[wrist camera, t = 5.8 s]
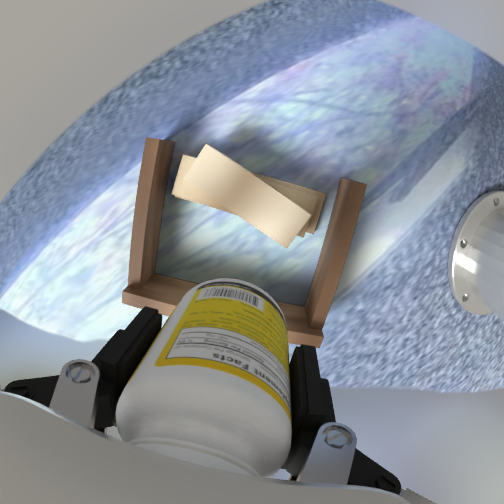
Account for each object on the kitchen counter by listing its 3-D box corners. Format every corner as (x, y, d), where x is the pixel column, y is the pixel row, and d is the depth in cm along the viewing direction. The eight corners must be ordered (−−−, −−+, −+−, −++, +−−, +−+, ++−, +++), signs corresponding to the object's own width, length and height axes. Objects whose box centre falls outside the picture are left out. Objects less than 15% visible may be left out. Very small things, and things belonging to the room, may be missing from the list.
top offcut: (308, 212, 21) (311, 215, 20) (285, 243, 22) (286, 248, 21) (209, 145, 20) (205, 143, 19) (188, 178, 21) (183, 179, 20)
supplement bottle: (218, 384, 15) (174, 548, 6) (155, 307, 14) (41, 461, 5) (308, 344, 14) (327, 537, 5) (247, 252, 13) (183, 443, 4)
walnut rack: (352, 181, 22) (371, 185, 18) (312, 318, 26) (319, 348, 21) (163, 140, 22) (140, 136, 18) (143, 280, 25) (122, 303, 21)
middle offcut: (315, 196, 22) (317, 198, 21) (301, 233, 23) (303, 237, 22) (187, 154, 22) (183, 154, 20) (176, 192, 23) (171, 194, 21)
